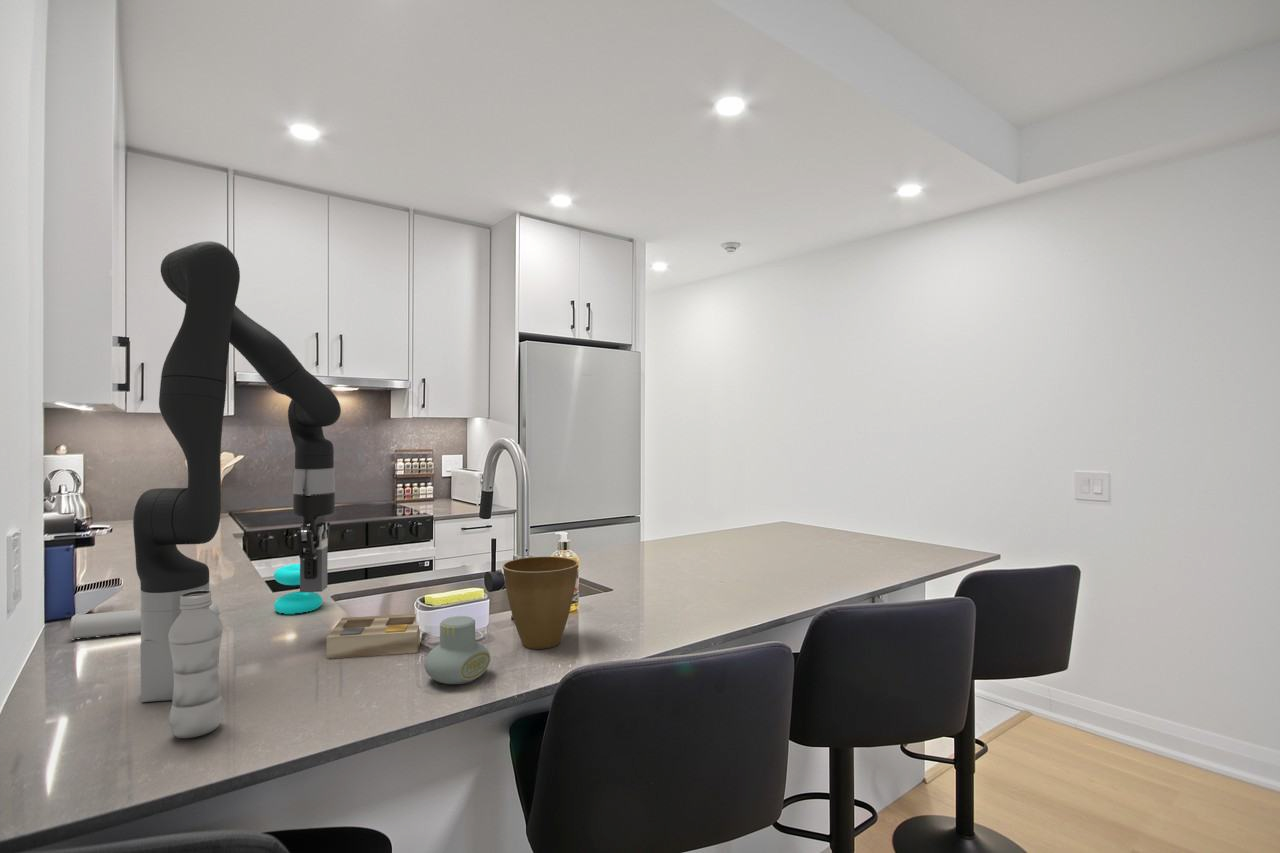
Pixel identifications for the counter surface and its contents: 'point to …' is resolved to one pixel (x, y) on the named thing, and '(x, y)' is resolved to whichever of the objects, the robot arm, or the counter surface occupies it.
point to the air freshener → (457, 653)
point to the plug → (321, 579)
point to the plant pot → (540, 597)
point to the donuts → (294, 593)
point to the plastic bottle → (195, 667)
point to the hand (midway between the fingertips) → (314, 575)
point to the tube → (109, 623)
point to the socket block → (374, 636)
